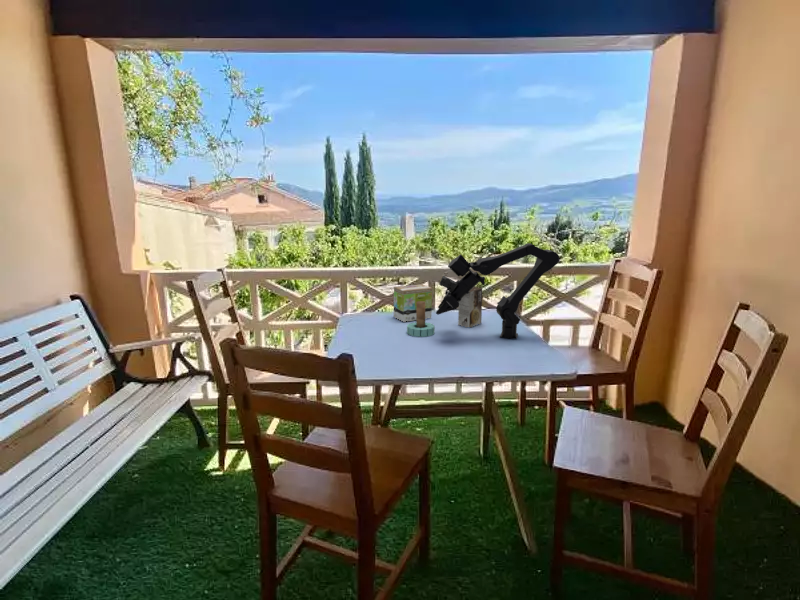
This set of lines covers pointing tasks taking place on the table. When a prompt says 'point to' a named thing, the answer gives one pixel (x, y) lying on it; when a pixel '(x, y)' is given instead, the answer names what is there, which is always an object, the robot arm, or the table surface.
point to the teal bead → (420, 330)
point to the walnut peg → (420, 314)
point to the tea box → (411, 301)
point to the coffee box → (470, 308)
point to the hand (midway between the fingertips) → (437, 310)
